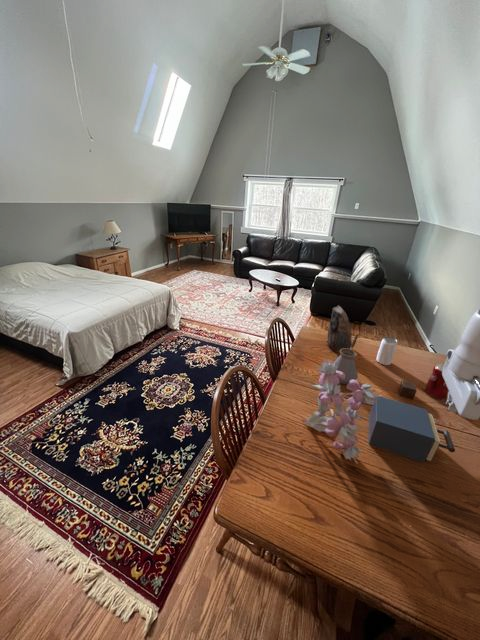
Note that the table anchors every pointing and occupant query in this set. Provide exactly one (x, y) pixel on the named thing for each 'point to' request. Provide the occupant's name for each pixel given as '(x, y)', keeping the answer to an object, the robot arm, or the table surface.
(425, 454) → the cabinet
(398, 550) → the table surface
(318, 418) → the flower
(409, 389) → the block
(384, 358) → the can
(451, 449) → the cream drawer
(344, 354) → the coffee pot
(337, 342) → the owl
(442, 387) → the soda can
